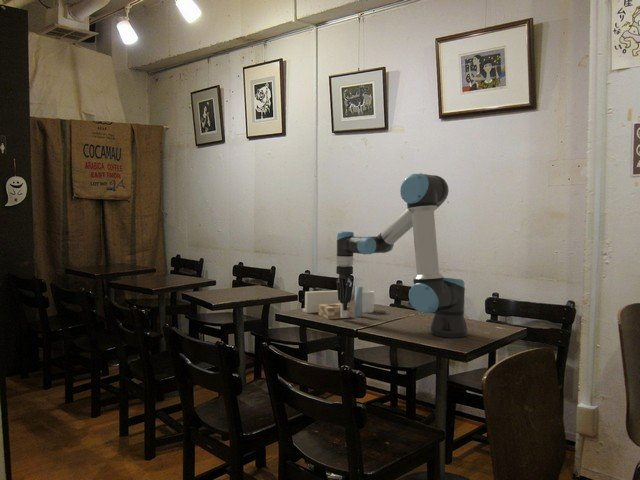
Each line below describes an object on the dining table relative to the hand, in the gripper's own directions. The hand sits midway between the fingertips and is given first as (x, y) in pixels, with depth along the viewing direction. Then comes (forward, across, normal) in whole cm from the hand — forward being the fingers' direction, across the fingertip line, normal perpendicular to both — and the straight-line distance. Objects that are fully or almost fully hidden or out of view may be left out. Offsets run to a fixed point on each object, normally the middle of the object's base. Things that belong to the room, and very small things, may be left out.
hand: (343, 317), depth 241 cm
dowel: (+2, +6, -11) cm, 13 cm away
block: (+2, +10, 0) cm, 11 cm away
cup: (+2, +17, -22) cm, 28 cm away
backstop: (+2, +25, 0) cm, 25 cm away
